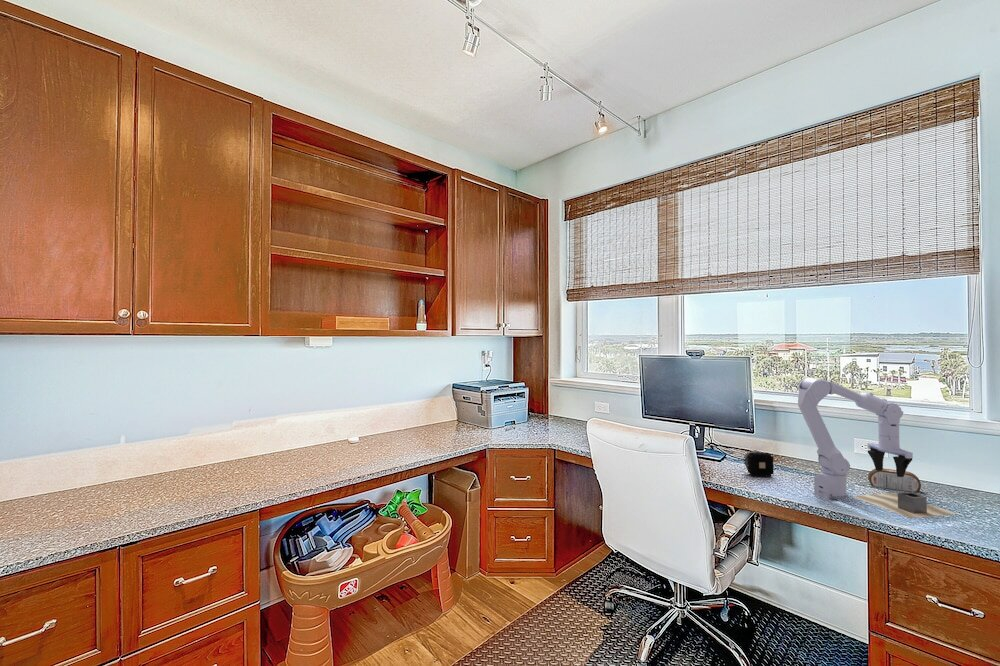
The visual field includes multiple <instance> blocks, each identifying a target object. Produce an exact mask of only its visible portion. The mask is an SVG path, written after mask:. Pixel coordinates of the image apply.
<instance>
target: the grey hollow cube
mask: <svg viewBox="0 0 1000 666" xmlns="http://www.w3.org/2000/svg"><path fill="white" fill-rule="evenodd" d="M897 494H898V508H899V509H902V510H905V511H908V512H910V513H913V514H917V513H927V504H928V501H927V500H928V499H927V496H925V495H924V496H923V495H921V494H917V493H916V492H912V491H906V492H898V493H897Z"/></svg>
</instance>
